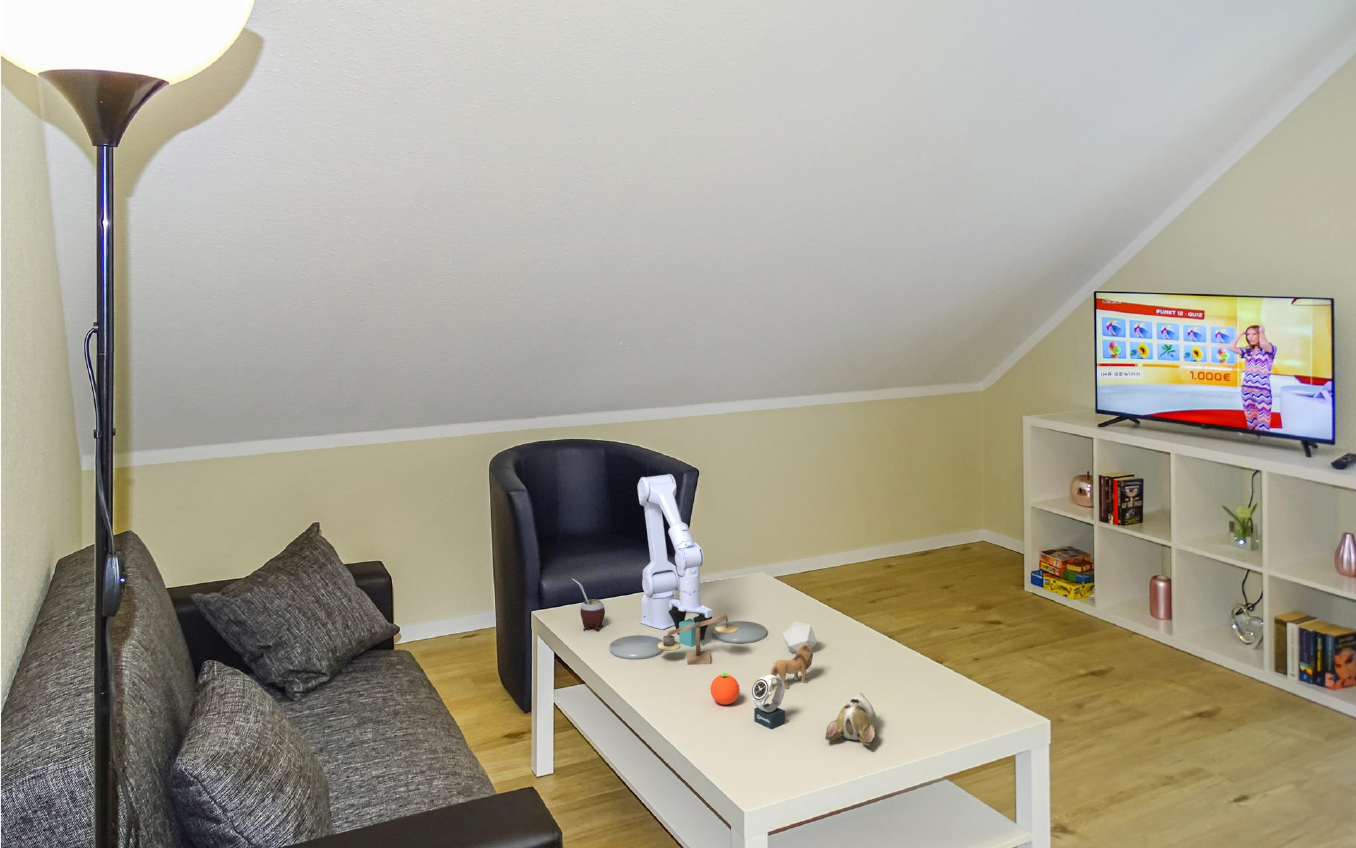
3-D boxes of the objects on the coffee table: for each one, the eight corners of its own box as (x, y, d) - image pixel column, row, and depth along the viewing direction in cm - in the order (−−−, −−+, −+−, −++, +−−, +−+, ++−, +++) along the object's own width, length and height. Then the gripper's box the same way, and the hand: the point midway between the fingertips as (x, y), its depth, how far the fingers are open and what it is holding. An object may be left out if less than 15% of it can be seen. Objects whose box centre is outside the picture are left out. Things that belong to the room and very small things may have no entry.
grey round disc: (702, 635, 288) (702, 631, 288) (736, 621, 299) (736, 617, 299) (743, 647, 278) (743, 643, 278) (777, 633, 289) (777, 628, 289)
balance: (658, 665, 267) (657, 621, 265) (657, 657, 273) (656, 613, 271) (739, 662, 267) (739, 618, 266) (737, 654, 273) (736, 611, 271)
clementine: (710, 695, 247) (710, 667, 246) (739, 695, 247) (738, 667, 246) (710, 709, 239) (710, 680, 238) (740, 709, 239) (739, 680, 238)
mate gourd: (609, 629, 295) (608, 579, 293) (586, 635, 290) (584, 584, 288) (596, 622, 301) (595, 573, 299) (573, 628, 297) (571, 578, 294)
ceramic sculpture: (884, 688, 227) (871, 720, 214) (885, 724, 229) (872, 757, 215) (837, 683, 231) (821, 713, 218) (838, 718, 233) (822, 750, 219)
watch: (748, 724, 231) (747, 677, 229) (773, 714, 236) (773, 668, 234) (765, 732, 227) (765, 685, 225) (790, 721, 232) (790, 675, 230)
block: (679, 643, 282) (679, 622, 282) (690, 639, 286) (690, 618, 285) (691, 647, 279) (691, 626, 278) (702, 642, 283) (702, 622, 282)
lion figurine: (803, 673, 260) (802, 639, 258) (818, 679, 255) (818, 645, 254) (761, 688, 250) (761, 653, 249) (777, 695, 246) (776, 660, 245)
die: (822, 653, 274) (813, 619, 279) (814, 648, 267) (805, 613, 271) (794, 662, 276) (785, 628, 281) (785, 657, 269) (776, 622, 273)
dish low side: (598, 650, 278) (598, 646, 278) (637, 635, 289) (637, 631, 289) (637, 663, 268) (636, 659, 268) (676, 648, 279) (675, 643, 279)
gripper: (660, 588, 282) (662, 635, 284) (699, 598, 272) (700, 647, 274) (678, 582, 287) (679, 628, 289) (716, 592, 278) (717, 639, 280)
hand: (690, 637), depth 282 cm, fingers open, 7 cm apart
